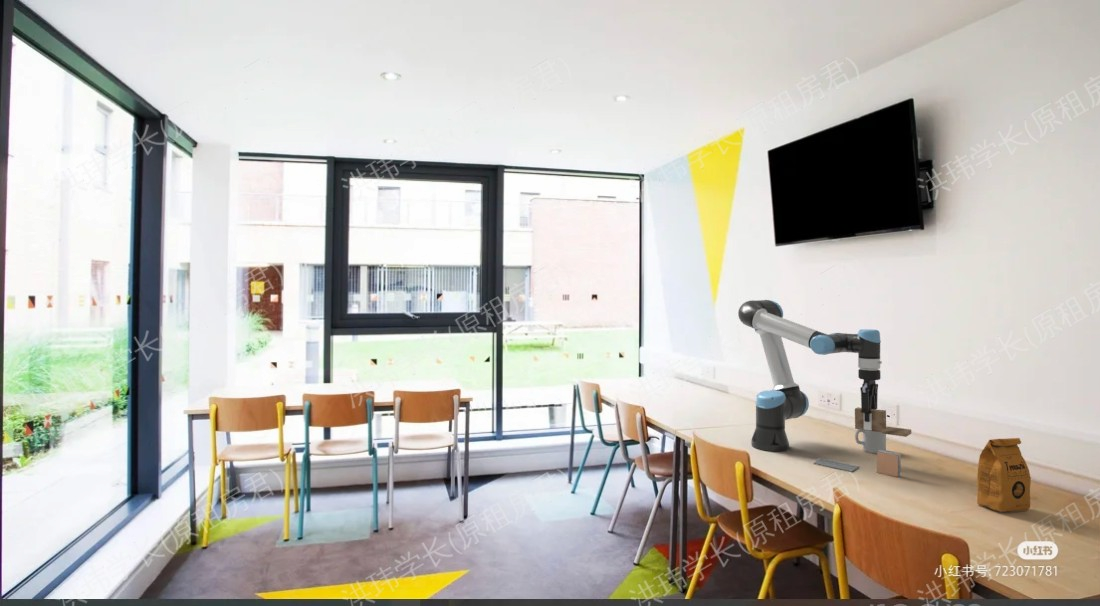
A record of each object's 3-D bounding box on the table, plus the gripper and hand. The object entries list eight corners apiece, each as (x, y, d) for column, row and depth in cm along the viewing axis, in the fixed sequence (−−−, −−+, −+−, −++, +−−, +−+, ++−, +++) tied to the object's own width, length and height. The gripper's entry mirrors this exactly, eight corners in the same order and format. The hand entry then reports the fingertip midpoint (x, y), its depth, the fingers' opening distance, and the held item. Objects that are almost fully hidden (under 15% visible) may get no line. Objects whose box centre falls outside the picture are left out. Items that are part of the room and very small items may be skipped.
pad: (813, 463, 219) (813, 462, 219) (820, 459, 225) (820, 458, 225) (852, 472, 209) (852, 471, 209) (859, 467, 215) (859, 466, 215)
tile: (876, 472, 209) (877, 451, 208) (878, 471, 211) (879, 449, 210) (898, 477, 204) (898, 455, 203) (900, 475, 206) (900, 453, 205)
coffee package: (1036, 514, 171) (1038, 442, 170) (999, 515, 170) (1001, 443, 169) (1006, 501, 181) (1008, 433, 180) (971, 503, 179) (973, 434, 179)
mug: (879, 448, 240) (879, 422, 240) (890, 454, 232) (890, 427, 232) (850, 447, 241) (850, 422, 241) (860, 453, 232) (860, 427, 232)
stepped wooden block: (853, 429, 221) (853, 409, 221) (859, 426, 226) (859, 406, 226) (906, 436, 208) (905, 415, 208) (911, 433, 213) (911, 412, 213)
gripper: (873, 372, 212) (873, 434, 212) (886, 367, 223) (886, 426, 223) (851, 370, 217) (851, 430, 217) (865, 366, 229) (866, 423, 229)
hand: (869, 428), depth 220 cm, fingers closed on stepped wooden block, 3 cm apart
